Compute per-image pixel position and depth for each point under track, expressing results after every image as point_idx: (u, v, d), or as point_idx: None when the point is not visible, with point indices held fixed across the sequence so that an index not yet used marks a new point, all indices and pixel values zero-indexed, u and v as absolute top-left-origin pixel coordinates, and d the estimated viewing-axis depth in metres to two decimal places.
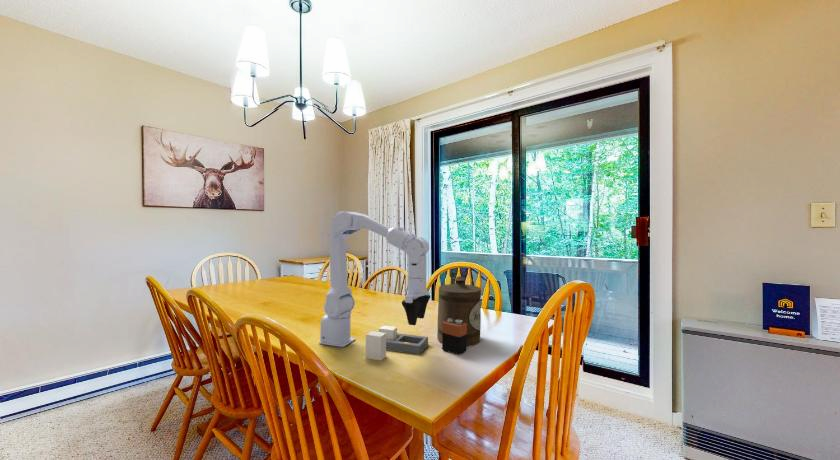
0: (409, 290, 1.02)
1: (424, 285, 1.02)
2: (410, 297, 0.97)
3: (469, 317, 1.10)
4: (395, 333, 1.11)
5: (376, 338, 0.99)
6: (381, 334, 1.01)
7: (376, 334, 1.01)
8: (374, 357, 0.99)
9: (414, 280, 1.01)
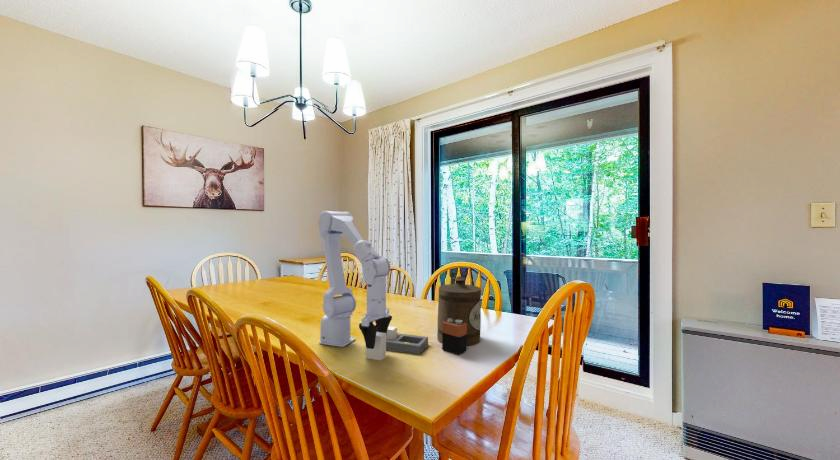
0: (368, 312, 0.99)
1: (383, 307, 0.99)
2: (366, 320, 0.94)
3: (469, 317, 1.10)
4: (395, 333, 1.11)
5: (376, 338, 0.99)
6: (381, 334, 1.01)
7: (376, 334, 1.01)
8: (374, 357, 0.99)
9: (372, 302, 0.98)
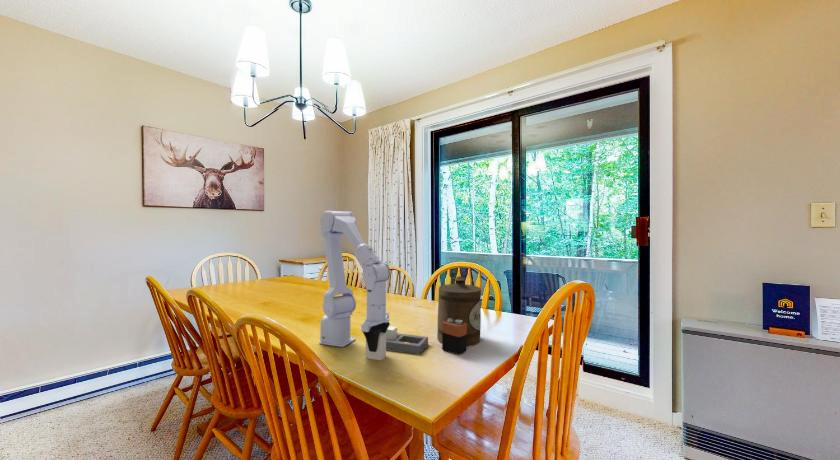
0: (367, 317, 0.99)
1: (383, 312, 0.99)
2: (366, 326, 0.94)
3: (469, 317, 1.10)
4: (395, 333, 1.11)
5: None
6: (381, 334, 1.01)
7: None
8: (374, 357, 0.99)
9: (372, 307, 0.98)
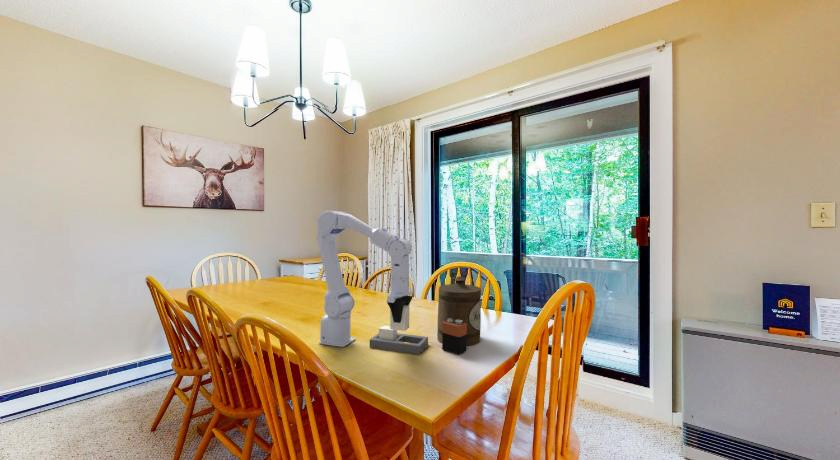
0: (392, 290, 1.04)
1: (407, 285, 1.04)
2: (392, 297, 0.99)
3: (469, 317, 1.10)
4: (395, 333, 1.11)
5: None
6: (405, 306, 1.06)
7: None
8: (398, 328, 1.05)
9: (397, 280, 1.03)
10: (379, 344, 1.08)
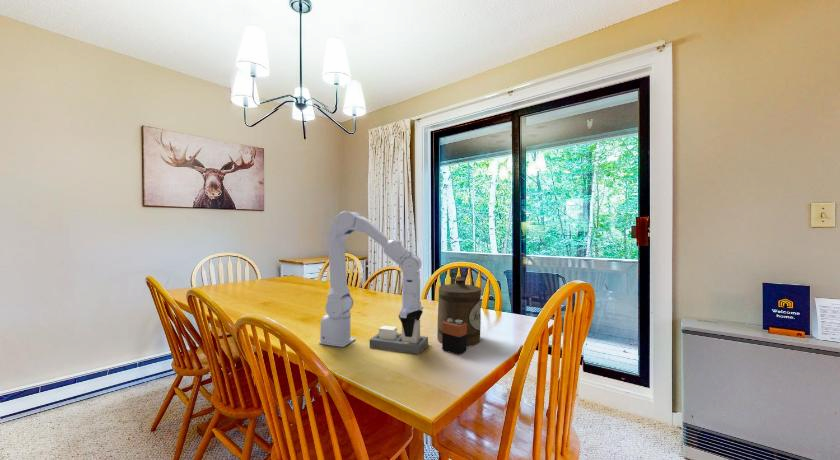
0: (403, 305, 1.07)
1: (418, 300, 1.07)
2: (404, 312, 1.02)
3: (469, 317, 1.10)
4: (395, 333, 1.11)
5: None
6: (416, 321, 1.09)
7: None
8: (410, 342, 1.07)
9: (408, 296, 1.06)
10: (379, 344, 1.08)
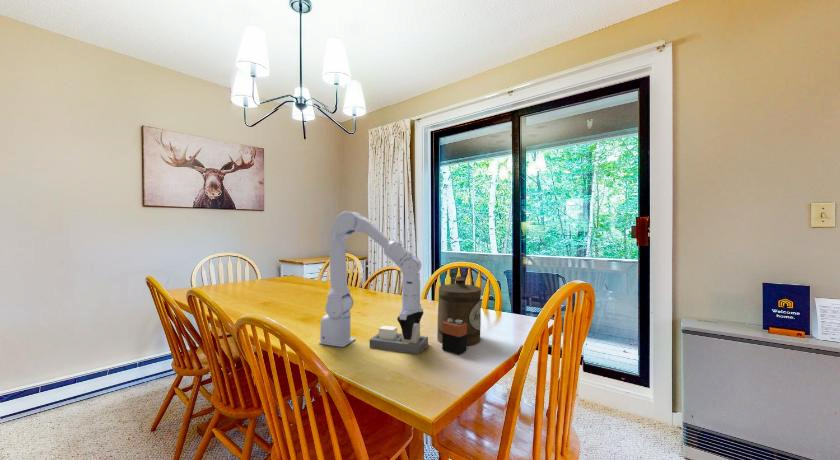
0: (403, 307, 1.07)
1: (418, 302, 1.07)
2: (404, 314, 1.02)
3: (469, 317, 1.10)
4: (395, 333, 1.11)
5: None
6: (416, 324, 1.09)
7: None
8: None
9: (408, 297, 1.06)
10: (379, 344, 1.08)
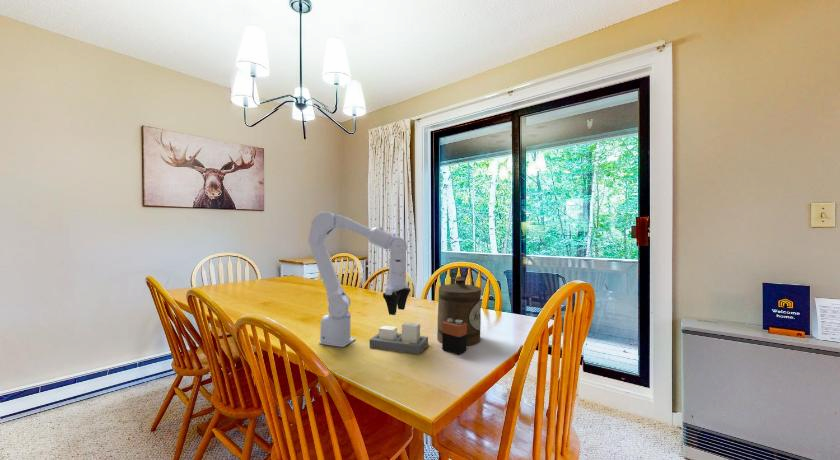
0: (390, 284, 1.14)
1: (403, 279, 1.14)
2: (390, 290, 1.08)
3: (469, 317, 1.10)
4: (395, 333, 1.11)
5: (412, 328, 1.07)
6: (416, 324, 1.09)
7: (412, 324, 1.09)
8: None
9: (394, 275, 1.13)
10: (379, 344, 1.08)
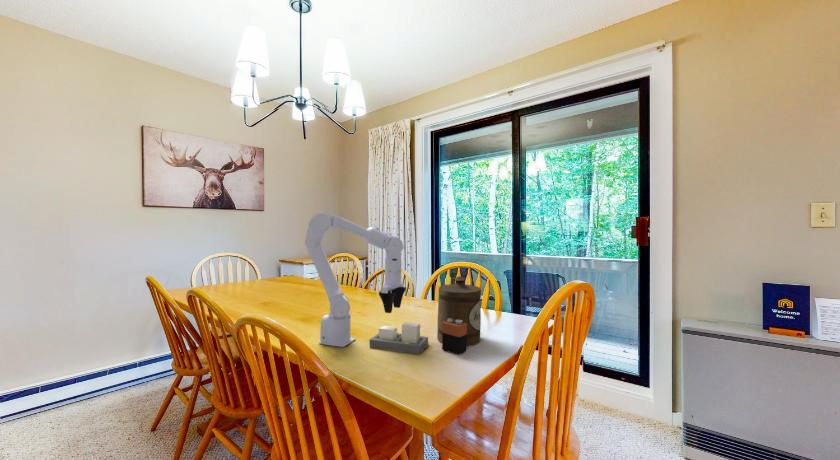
0: (386, 282, 1.16)
1: (399, 278, 1.16)
2: (385, 288, 1.11)
3: (469, 317, 1.10)
4: (395, 333, 1.11)
5: (412, 328, 1.07)
6: (416, 324, 1.09)
7: (412, 324, 1.09)
8: None
9: (390, 273, 1.15)
10: (379, 344, 1.08)
